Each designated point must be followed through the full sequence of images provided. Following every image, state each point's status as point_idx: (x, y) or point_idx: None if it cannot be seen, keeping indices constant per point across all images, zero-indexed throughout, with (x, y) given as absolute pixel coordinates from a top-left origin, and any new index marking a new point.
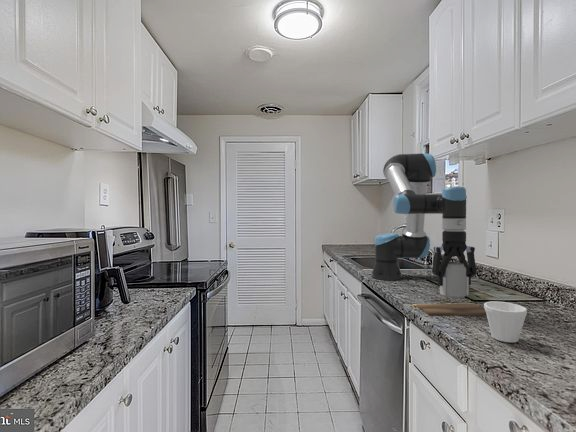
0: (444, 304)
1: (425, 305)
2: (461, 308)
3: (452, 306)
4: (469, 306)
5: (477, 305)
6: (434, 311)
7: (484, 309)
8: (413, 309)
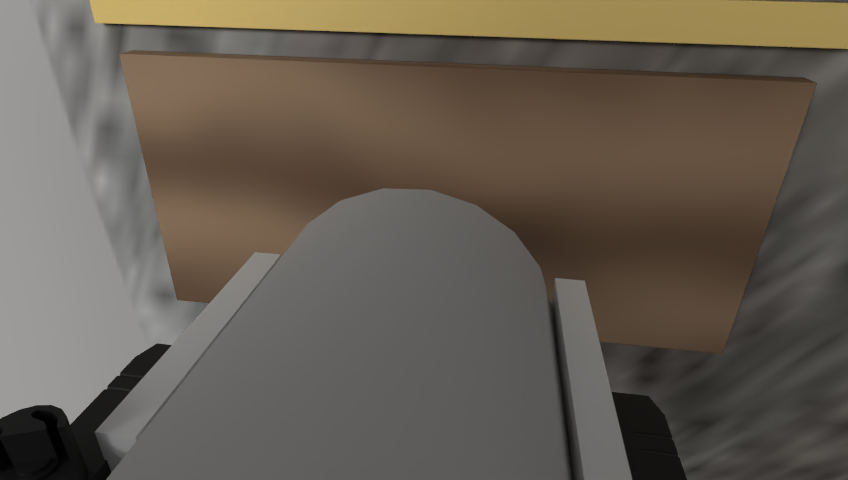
0: (415, 82)
1: (199, 98)
2: (515, 226)
3: (464, 157)
4: (650, 177)
5: (778, 153)
6: (231, 268)
7: (725, 278)
8: (92, 132)
